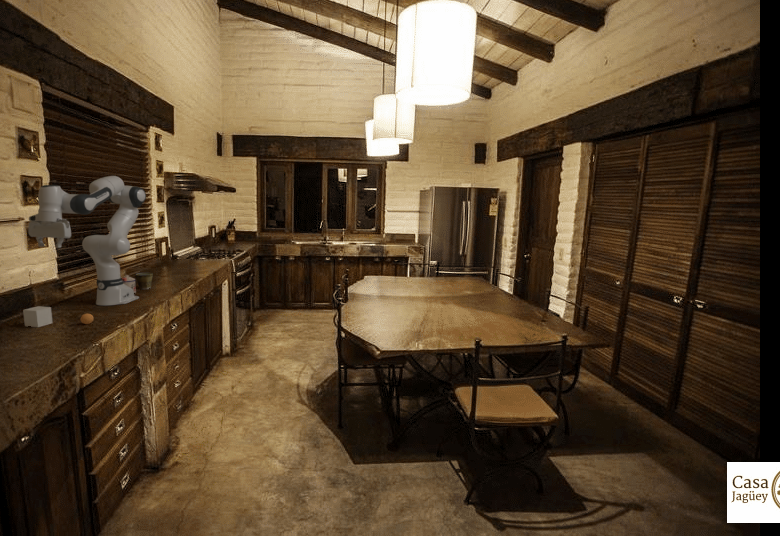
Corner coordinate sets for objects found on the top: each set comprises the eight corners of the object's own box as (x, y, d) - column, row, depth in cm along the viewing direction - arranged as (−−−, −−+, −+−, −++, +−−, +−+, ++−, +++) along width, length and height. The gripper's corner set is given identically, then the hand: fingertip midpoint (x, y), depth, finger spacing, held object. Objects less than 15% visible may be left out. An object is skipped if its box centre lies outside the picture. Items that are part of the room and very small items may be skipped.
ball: (87, 322, 199) (86, 312, 198) (96, 322, 198) (95, 312, 197) (78, 325, 194) (77, 314, 193) (87, 325, 193) (86, 315, 192)
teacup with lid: (133, 294, 257) (131, 276, 255) (117, 295, 255) (115, 276, 254) (140, 290, 269) (139, 273, 267) (124, 291, 267) (123, 273, 265)
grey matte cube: (39, 322, 197) (38, 306, 196) (52, 323, 196) (50, 307, 195) (24, 326, 190) (23, 309, 189) (38, 327, 189) (36, 310, 188)
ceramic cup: (157, 287, 280) (156, 273, 278) (144, 290, 270) (143, 275, 269) (142, 286, 284) (141, 271, 282) (129, 288, 274) (128, 274, 273)
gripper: (75, 219, 199) (74, 248, 200) (38, 218, 202) (38, 246, 202) (62, 218, 193) (62, 247, 193) (25, 217, 196) (25, 246, 196)
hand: (49, 247), depth 198 cm, fingers open, 8 cm apart
